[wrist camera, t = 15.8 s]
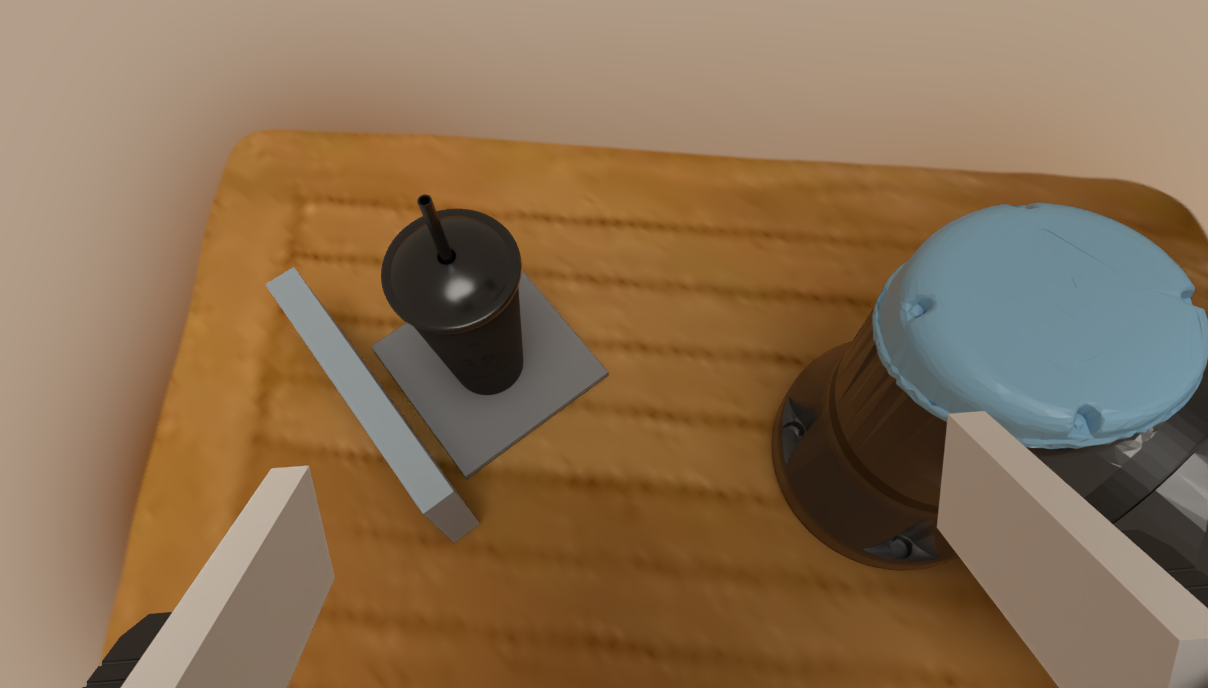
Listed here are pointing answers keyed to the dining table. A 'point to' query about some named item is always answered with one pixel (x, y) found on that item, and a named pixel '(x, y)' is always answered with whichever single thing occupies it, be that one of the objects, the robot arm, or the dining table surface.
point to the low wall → (373, 407)
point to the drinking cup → (460, 293)
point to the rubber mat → (503, 419)
